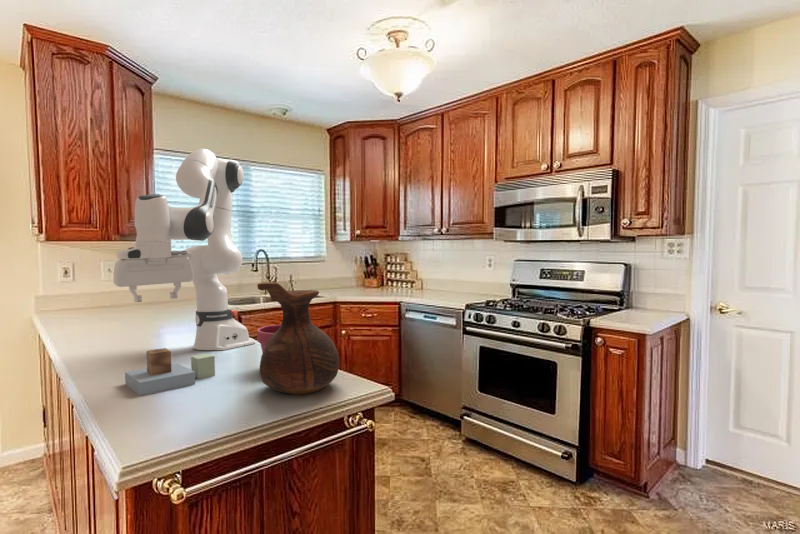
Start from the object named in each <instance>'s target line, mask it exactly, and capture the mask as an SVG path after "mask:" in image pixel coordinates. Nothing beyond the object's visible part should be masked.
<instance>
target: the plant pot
mask: <svg viewBox="0 0 800 534" xmlns="http://www.w3.org/2000/svg"><path fill="white" fill-rule="evenodd" d="M280 326H281V324H272V325H265V326H262V327H258V329H257V331H256V333H257V338H256V339H257V342H258V343H259V344H260V348H261V351H262V353H263V351H264V349H265V347H266V345H267V343H268V341H269V339H270V338H271V336H272V335H273V334H274V333H275V332H276V331H277V330H278V329H279V328H280Z"/></svg>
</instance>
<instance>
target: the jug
mask: <svg viewBox="0 0 800 534" xmlns="http://www.w3.org/2000/svg"><path fill="white" fill-rule="evenodd" d="M256 286H257V289H258V290H260V291H267V292H268V294H269V296H270V299H271V300H272V301H275V302H277V303H278V304H279V305H280V306H281V308H282V321H281V324H280V325H281V326H280V328H279V329H278V330H277V331H276V332H275V333H274V334H273V335H272V336H271V338H270V339H269V341H268V343H267V345H266V347H265V349H264V351H263V353H262V354H261V357H260V362H259V375H260V379H261V381H262V383H263V384H264V385H265V386H267V387H269V388H270V389H271V388H272V389H273V390H275V391H276V392H279V393H282V394H283V393H284V394H290V395H306V394H312V393H315V392H318V391H320V389H322V388H324V387H326V386H328V385H329V384H331V383H332V381H334V380H335V378H336V377H337V374H338V373H339V368H340V358H339V352H338V349H337V347H336V345H335V343H334V341H333V340H332V339H331V337H330V336H329V335H328V334H327V333H326V332H325V331H324V330H322V329H320V328H319V327H318V326H316V325H315V324H313V322H312V319H311V314H310V311H309V310H310V309H309V307H310V304H311V302H312V300H313V299H314V298H316V297H317V296H318V295H319V294H320V291H319V290H316V289H300V290H299V289H297V290H296V289H295V290H287V289H286V288H284V287H283V286H282V285H281V284H279V282H276V281H269V282H268V281H265V282H259V283H257V285H256Z"/></svg>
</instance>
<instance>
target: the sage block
mask: <svg viewBox="0 0 800 534" xmlns="http://www.w3.org/2000/svg"><path fill="white" fill-rule="evenodd" d="M215 357H216V356H215V355H213V354H211V353H202V354H201V353H200V354H196V355H195V354H194V355H191V356H190V361H191V362H190V363H191V364H190V366H191V367H190V370H192V371H194V372H195V379H197V380H200V379H201V380H202V379H206V378H211V377H214V376H216V366H215V365H216V364H215V362H216V361H215Z"/></svg>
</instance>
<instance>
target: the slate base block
mask: <svg viewBox="0 0 800 534" xmlns="http://www.w3.org/2000/svg"><path fill="white" fill-rule="evenodd" d="M124 379H125V385H126V386H127V387H128V388H129V389H131V390H132V391H133V392H135V393H136V394H137V395H138V396H142V397H143V396H146V395H151V394H154V393H155V394H156V393H159V392H160V393H161V392H163V391H164V392H165V391H169V390H174V389H179V388H183V387H188V386H193V385H196V378H195V372H194V371H192V370H191V368H187V367H186V366H184V365H182V364H180V363H178V362H175V363H171V372H169V373H163V374H157V375H151V374H149V373H148V372H147V367H145V368H140V369H134V370H130V371H129V370H128V371H125V372H124Z"/></svg>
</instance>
